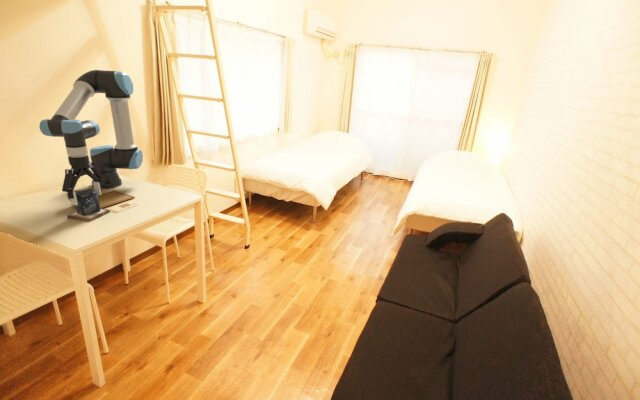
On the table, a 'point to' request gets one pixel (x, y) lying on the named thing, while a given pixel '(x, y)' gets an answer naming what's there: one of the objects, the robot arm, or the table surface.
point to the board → (89, 216)
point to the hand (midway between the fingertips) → (87, 199)
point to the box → (87, 202)
